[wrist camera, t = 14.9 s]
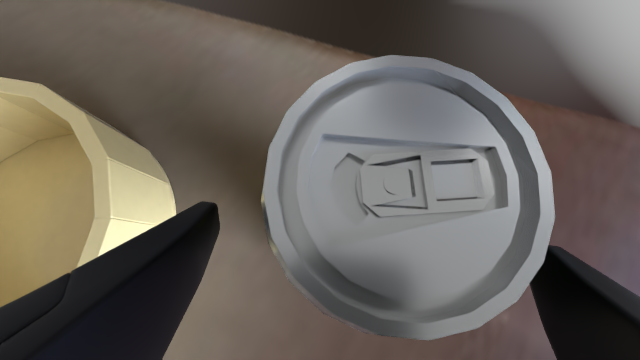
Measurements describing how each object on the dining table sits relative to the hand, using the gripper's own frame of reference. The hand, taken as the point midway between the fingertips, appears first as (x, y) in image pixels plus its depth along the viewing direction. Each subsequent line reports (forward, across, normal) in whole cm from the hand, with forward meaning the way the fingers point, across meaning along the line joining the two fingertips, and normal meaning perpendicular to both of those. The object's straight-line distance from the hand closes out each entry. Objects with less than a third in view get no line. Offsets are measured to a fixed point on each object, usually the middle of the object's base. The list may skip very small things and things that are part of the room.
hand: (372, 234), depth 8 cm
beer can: (+7, 0, +6) cm, 9 cm away
